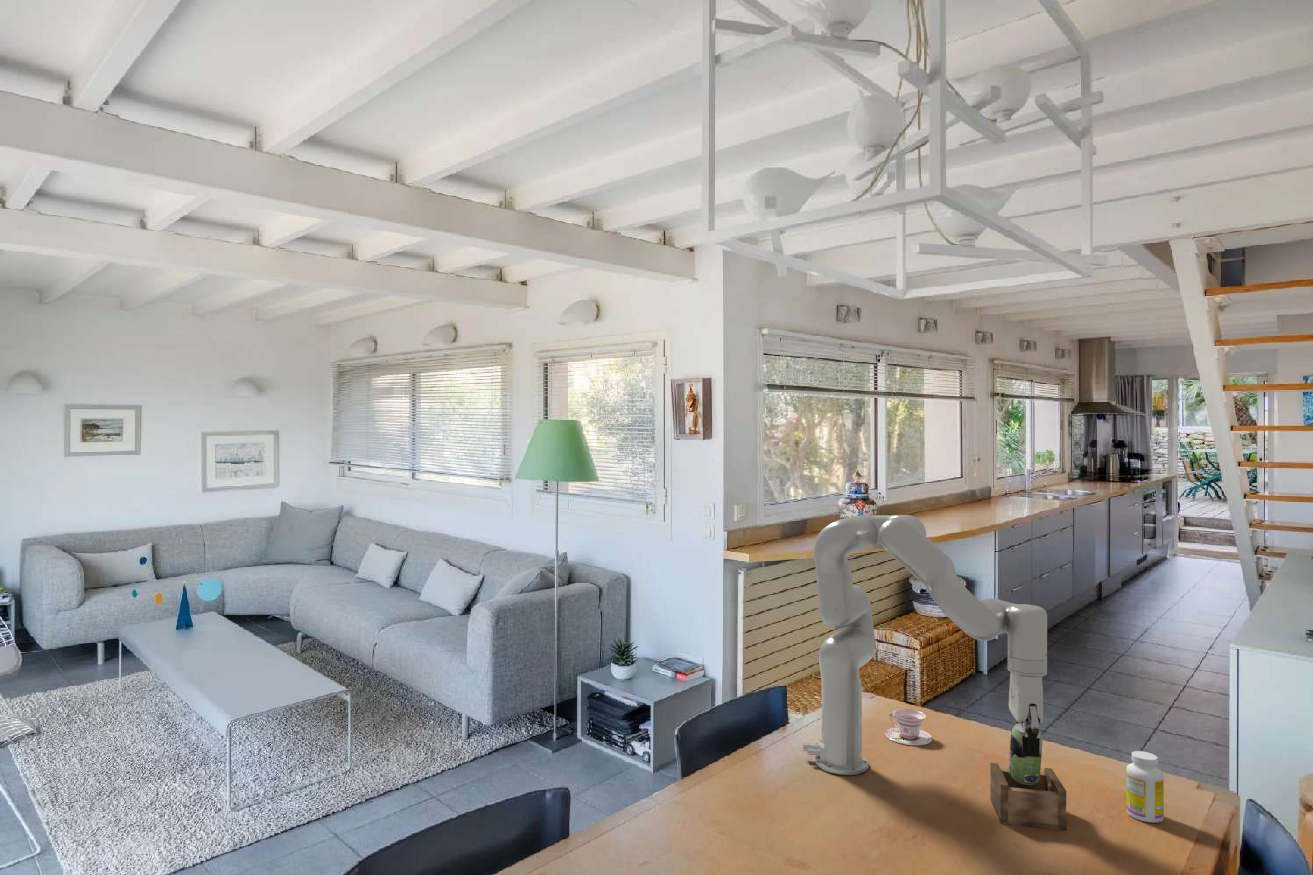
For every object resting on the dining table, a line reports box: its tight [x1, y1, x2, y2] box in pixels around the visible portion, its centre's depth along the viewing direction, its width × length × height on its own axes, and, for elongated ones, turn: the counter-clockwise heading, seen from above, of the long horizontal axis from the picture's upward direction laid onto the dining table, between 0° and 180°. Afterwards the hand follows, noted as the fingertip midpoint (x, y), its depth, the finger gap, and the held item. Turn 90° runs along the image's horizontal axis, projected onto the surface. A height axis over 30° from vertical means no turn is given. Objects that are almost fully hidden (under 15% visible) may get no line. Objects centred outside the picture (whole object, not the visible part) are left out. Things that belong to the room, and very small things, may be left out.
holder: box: [989, 762, 1067, 832], centre depth 163 cm, size 12×11×8 cm
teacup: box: [884, 708, 933, 747], centre depth 205 cm, size 12×12×6 cm
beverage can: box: [1008, 723, 1044, 785], centre depth 164 cm, size 6×7×12 cm
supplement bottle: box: [1125, 750, 1165, 824], centre depth 163 cm, size 7×7×13 cm
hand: (1026, 748), depth 163 cm, fingers closed on beverage can, 6 cm apart
